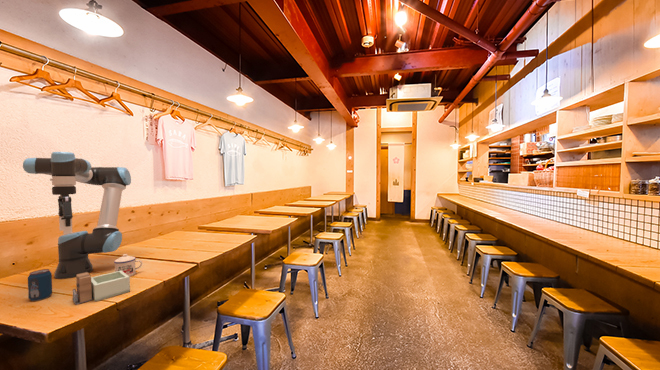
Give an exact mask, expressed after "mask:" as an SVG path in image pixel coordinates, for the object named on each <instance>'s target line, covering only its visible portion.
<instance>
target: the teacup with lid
mask: <svg viewBox="0 0 660 370" xmlns="http://www.w3.org/2000/svg"><path fill="white" fill-rule="evenodd" d="M137 262H139V263H140V265H139V266H138V267H136V263H137ZM113 263H114V272H117V271H123V272H124V273H125V274H127V275H128V276H129V277H130V278H131V277H132V276H135V275H136V270H138V269H140V268H142V267H143V266H142V265H143V261H142V260H140V259H136V257H135V256H132V255H128V253H124V254H122V256H120V257H118V258H116V259H115V260H114V261H113Z"/></svg>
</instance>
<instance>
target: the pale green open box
mask: <svg viewBox="0 0 660 370" xmlns="http://www.w3.org/2000/svg"><path fill="white" fill-rule="evenodd" d="M130 279H131V276H130V277H129V276H128V275H127V274H125V273H124V272H123V271H117V272H115V271H114V272H109V273H104V274H100V275H96V276H91V287H92V297H93V298H94V300H93V301H94V302H98V301H99V302H100V301H103V300H106V299H110V298H113V297H116V296H120V295H123V294H126V293H130V292H131V286H130V285H131V284H130V283H131V280H130Z"/></svg>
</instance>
